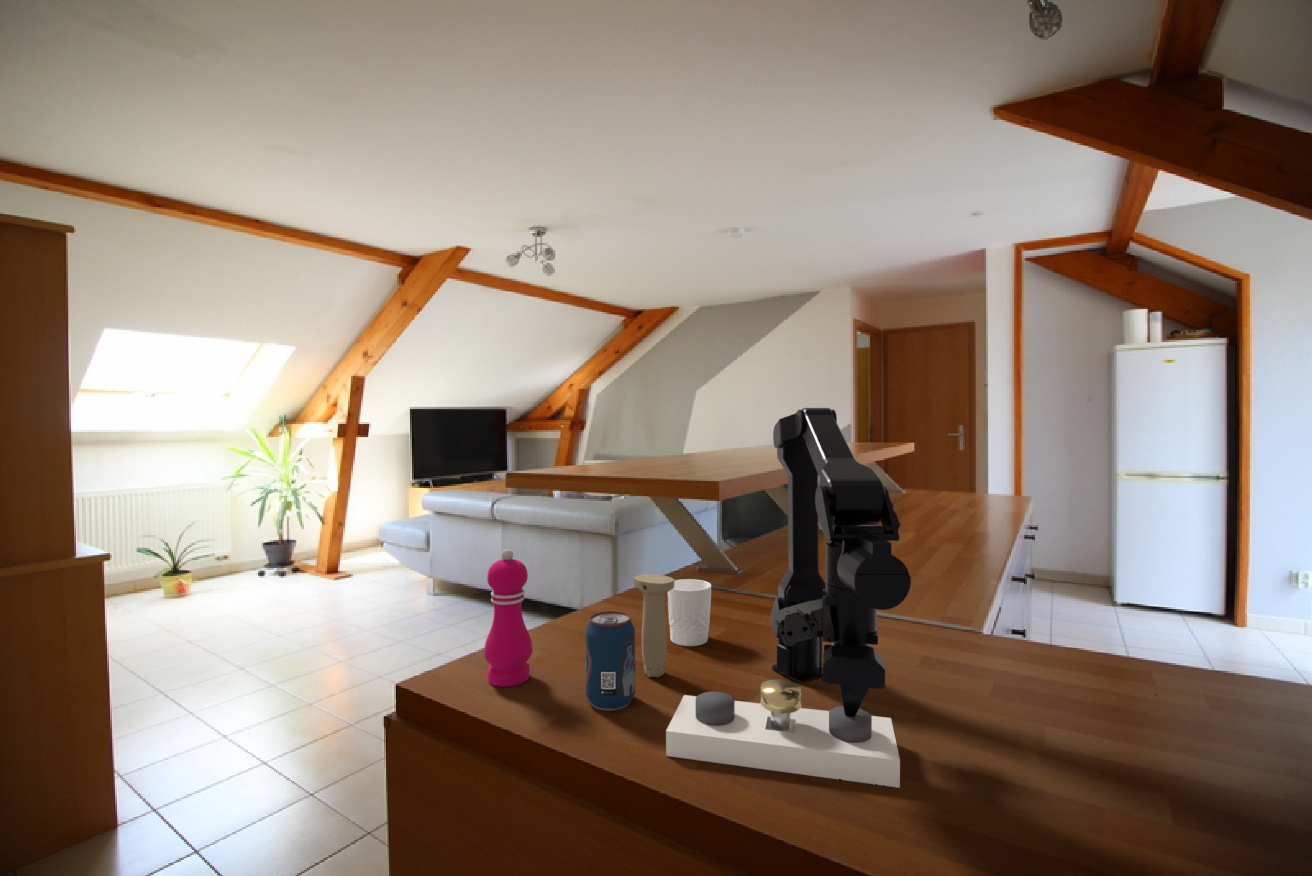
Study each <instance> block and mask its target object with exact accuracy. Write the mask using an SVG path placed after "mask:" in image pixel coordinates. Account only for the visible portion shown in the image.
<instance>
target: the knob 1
mask: <svg viewBox="0 0 1312 876" xmlns="http://www.w3.org/2000/svg"><path fill="white" fill-rule="evenodd" d="M735 701H736V700H735V699H734V697H733V696H732V695H730V694H728V693H725V692H720V691H705V692H703V693H700V694H698V695H697V697H696V718H697V720H699V721H700V722H702V723H705V724H708V725H725V724H728V723H730V722H732V721H733V720H734V717H735Z"/></svg>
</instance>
